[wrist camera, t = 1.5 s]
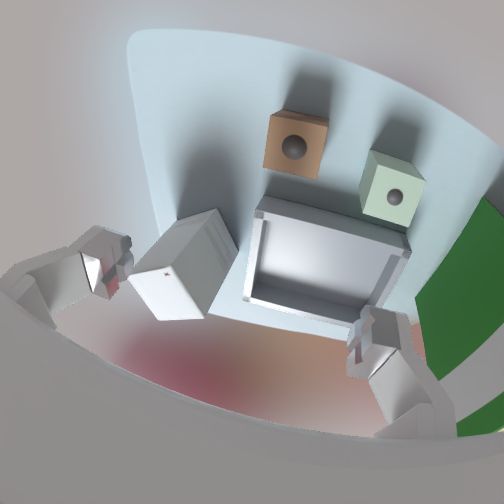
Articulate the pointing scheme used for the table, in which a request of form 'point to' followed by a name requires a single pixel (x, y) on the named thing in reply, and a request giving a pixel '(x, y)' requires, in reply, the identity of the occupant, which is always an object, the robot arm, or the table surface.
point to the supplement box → (185, 267)
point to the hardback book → (469, 323)
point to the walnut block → (295, 143)
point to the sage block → (390, 188)
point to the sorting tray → (320, 262)
